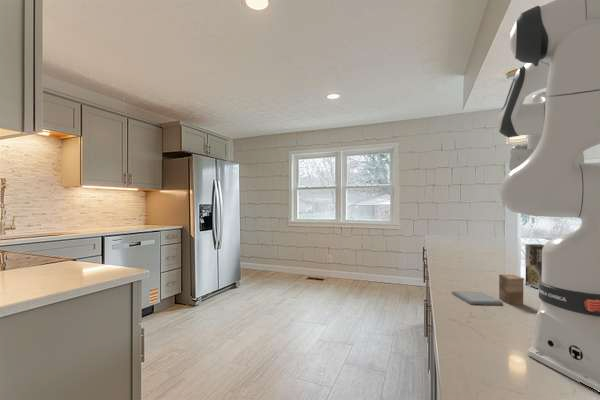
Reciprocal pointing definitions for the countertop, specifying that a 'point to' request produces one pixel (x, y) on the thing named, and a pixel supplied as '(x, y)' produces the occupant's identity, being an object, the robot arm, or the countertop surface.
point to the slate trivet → (477, 298)
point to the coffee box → (533, 264)
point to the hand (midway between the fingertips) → (542, 184)
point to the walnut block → (511, 289)
